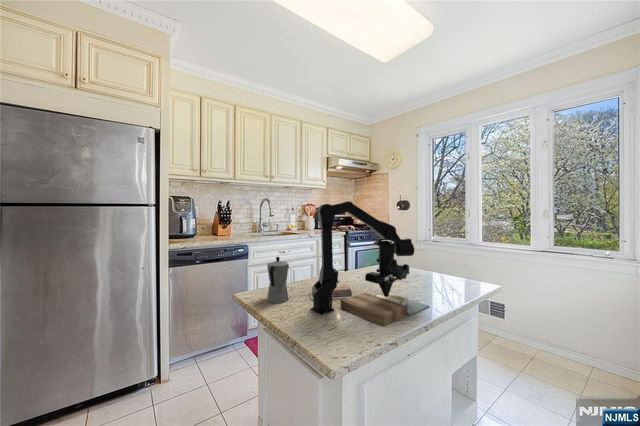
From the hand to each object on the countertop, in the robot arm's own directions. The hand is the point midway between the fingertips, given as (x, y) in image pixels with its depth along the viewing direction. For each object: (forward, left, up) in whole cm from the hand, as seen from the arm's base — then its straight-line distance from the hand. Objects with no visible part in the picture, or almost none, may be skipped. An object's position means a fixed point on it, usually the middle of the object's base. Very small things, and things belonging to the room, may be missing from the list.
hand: (386, 296), depth 102 cm
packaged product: (-9, +23, -4) cm, 25 cm away
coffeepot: (-30, +33, -4) cm, 44 cm away
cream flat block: (+3, 0, -3) cm, 5 cm away
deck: (-8, 0, -4) cm, 9 cm away
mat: (+6, 0, -4) cm, 7 cm away
